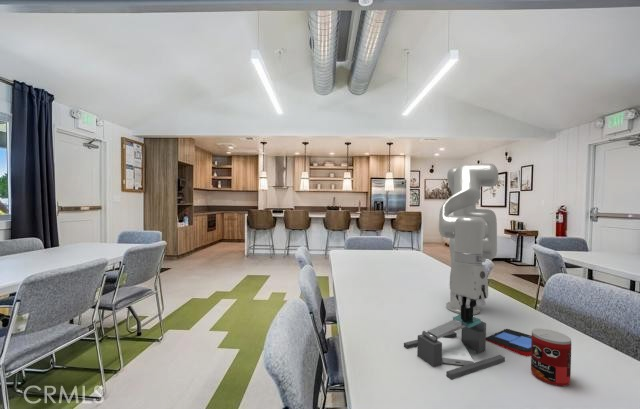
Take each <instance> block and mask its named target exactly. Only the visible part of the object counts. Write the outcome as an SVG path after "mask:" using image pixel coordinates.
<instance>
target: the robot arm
mask: <svg viewBox="0 0 640 409" xmlns="http://www.w3.org/2000/svg"><path fill="white" fill-rule="evenodd" d="M446 179H447V182H448V187H449V189H450V192H451V195H450V196H449V197H447V199H446V200H445V201H444V202H443V203H442V205H441V208H440V209H439V219H438V232H439V234H440V235H441V237H443V238H445V239H449V241H448V246H449V247H448V248H449V253H450V271H449V274H450V275H449V290H450V291H449V292H450V293H449V294H450V295H449V302H446V304H445V307H446V308H447V310H449V311H451V312H453V313H457V314H459V315H460V314H461V319H462V320H464V321H470V320H472V319H473V317H474V315H478V314H480V308H479V307H478V305H479V306H484V305H486V300H485V299H488V298H489V282H488V281H489V279H488V274H487V268H486V265H485V264H483V263H485V262H486V261H487V260H493V259H495V258H496V256H497V254H498V253H497V252H498V223H497V216H496V215H497V214H496V213H495V212H494V211H493V210H492V209H487V208H477V203H479V201H480V199H481V187H484V188H485V187H487V188H488V187H494V186H496V185H497V183H498V181H499V170H498V167H497V166H496V165H495V164H493V163H467V164H462V165H460V166H454V167H452V168H449V170H448V171H447V178H446ZM452 213H453V215H452Z"/></svg>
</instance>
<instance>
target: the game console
mask: <svg viewBox="0 0 640 409" xmlns="http://www.w3.org/2000/svg"><path fill="white" fill-rule="evenodd" d="M531 337H532V334H527V333H523V332H520V331H517V330H512V329H509V328H504V329H503V330H500V331H498V332H495V333H492V334H491V335H489V336H486V342H488V343H491V344H492V345H495V346H498V347H501V348H503V349H505V350H508V351H510V352H512V353H515V354H517V355H519V356H524V357H531Z"/></svg>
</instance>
